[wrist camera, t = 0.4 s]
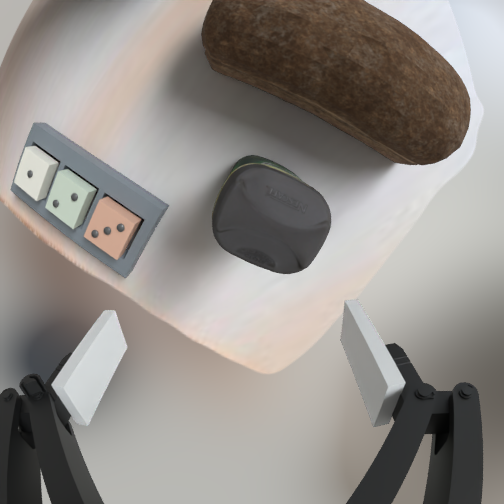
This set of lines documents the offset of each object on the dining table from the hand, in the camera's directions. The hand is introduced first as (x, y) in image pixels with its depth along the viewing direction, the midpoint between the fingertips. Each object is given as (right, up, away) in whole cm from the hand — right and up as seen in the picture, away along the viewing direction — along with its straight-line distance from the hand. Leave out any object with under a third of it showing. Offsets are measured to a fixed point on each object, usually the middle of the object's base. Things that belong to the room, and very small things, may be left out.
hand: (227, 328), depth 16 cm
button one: (-31, +16, +19) cm, 40 cm away
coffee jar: (+3, +13, +23) cm, 27 cm away
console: (-24, +13, +23) cm, 36 cm away
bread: (+12, +28, +17) cm, 35 cm away
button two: (-24, +12, +20) cm, 34 cm away
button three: (-18, +8, +22) cm, 29 cm away
